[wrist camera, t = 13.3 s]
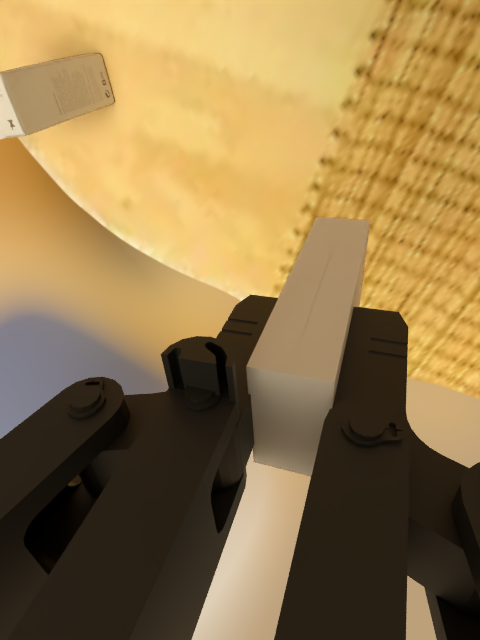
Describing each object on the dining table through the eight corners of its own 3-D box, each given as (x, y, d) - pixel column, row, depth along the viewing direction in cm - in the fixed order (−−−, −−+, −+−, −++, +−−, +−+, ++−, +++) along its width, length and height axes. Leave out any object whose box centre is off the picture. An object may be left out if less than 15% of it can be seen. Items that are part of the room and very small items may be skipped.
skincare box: (101, 50, 37) (-1, 66, 28) (117, 105, 40) (28, 136, 30) (48, 61, 39) (-63, 79, 30) (67, 112, 42) (-31, 143, 33)
